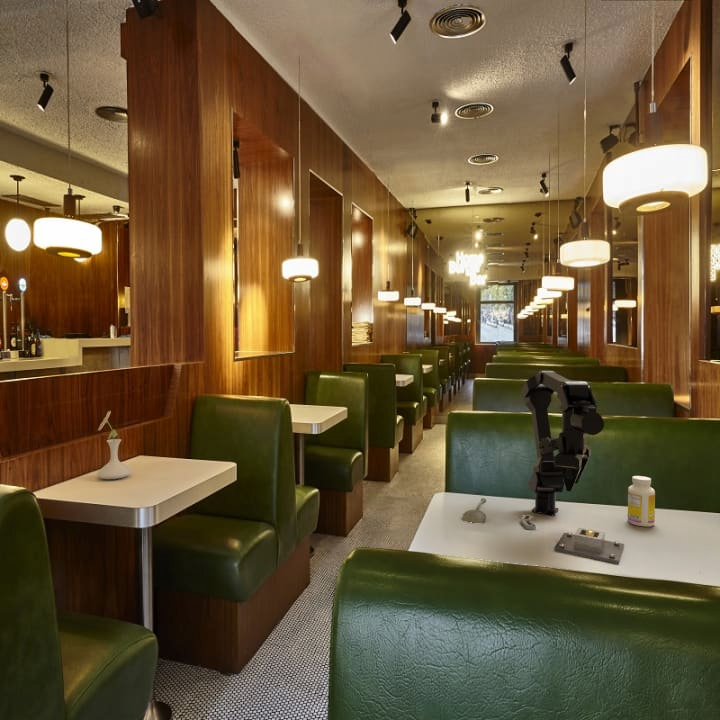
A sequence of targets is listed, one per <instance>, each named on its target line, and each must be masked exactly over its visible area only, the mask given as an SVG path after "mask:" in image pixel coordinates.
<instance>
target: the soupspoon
mask: <svg viewBox="0 0 720 720" xmlns="http://www.w3.org/2000/svg"><path fill="white" fill-rule="evenodd" d="M483 502H484V503H487V499H486V498H484V497H482V498H480V501H479V503H478V505H477V506H476V508H475V509H469V510H467V511H465V512H464V513H463V514H462V520H463V522H465V521H467V522H466V523H468V522H472V523H471V524H474V523H482V524H484V523H485V522H486V520H487V514H486V513H485V512H484V511H482V510H480V507H481V505H482V503H483Z"/></svg>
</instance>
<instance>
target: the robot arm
mask: <svg viewBox="0 0 720 720" xmlns="http://www.w3.org/2000/svg"><path fill="white" fill-rule="evenodd" d="M554 393H556V397H557V399H559V400H560V403H561V405H560V407H559V409H560V410H561V412H562V413H561V431H560V432H559V434H558V436H556V437H555V436H554V437H552V432H551V431H552V430H551V424H550V417H549V410H548V409H549V407H550V405H551V403H552V400H553V399H552V398H553V397H552V396H553V395H554ZM521 396H522V397H523V401H524V405H525V406H526V408H528V410H529V411H530V413H531V419H532V426H533V434H534V442H535V443H534V444H535V450H536V457H537V459H536V461H535V464H534V465H533V468H532V469H533V470H532V471H533V473H532V474H531V476H530V478H529V480H528V489H529V490H530V491H531V492H533V493H535V499H534V504H535V505H534V507H533V508H532V509H531V513H537V514H543V515H549V516H556V514H557V512H558V511H559V508H558V507H556V493H563V491H564V487H565V489H566V492H572V490H573V489H574V486H575V484H576V485H577V484H579V482H580V479H581V477H582V475H583V473H584V471H585V469H586V467H587V465H588V462H589V460H590V459H591V456H592V450H591V449H592V448H591V447H590V446H589V445H588V444H586V437H587V435H589V436H595V435H598V434H600V433H601V432H602V431H603V429H604V428H605V427H604V426H605V421H604V418H603V417H602V416H601V414H600V413H599V412H597V401H596V397H595V396H594V393H593V391H592V389H591V386H590V385H589V383H588V382H587V381H586V380H585V381H582V380H571V379H568V378H567V377H564V376H562V375H560V374H557V373H556V371H553V370H539V371H537V372H536V373H535V375H534V376H532V377H530V378H529V379H527V380H526V381H525V383H524V385H523V386H522V388H521ZM555 451H557V452H558V453H557V454H556V455H555V454H554V452H555ZM585 455H586V456H585Z"/></svg>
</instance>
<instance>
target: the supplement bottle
mask: <svg viewBox="0 0 720 720" xmlns="http://www.w3.org/2000/svg"><path fill="white" fill-rule="evenodd" d="M631 479H632V480H631V481H632V484H631V485H630V486H628V490H627V521H628V522H629V523H630V524H632V525H634V526H638V527H646V528H647V527H648V528H649V527H652V526H655V514H656V512H655V511H656V506H655V505H656V491H655V489H654V488H653V487H651V484H652V478H651V477H648V476H643V475H642V476H641V475H633V476H632V477H631Z"/></svg>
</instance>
